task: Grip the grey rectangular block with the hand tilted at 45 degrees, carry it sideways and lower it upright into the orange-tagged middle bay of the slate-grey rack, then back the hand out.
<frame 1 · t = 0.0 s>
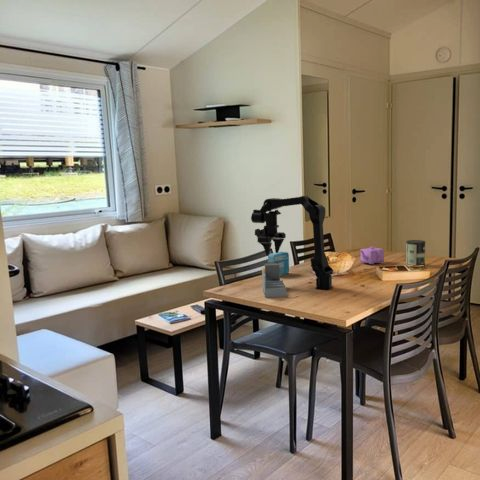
hand: (272, 254, 261), 15 cm above the table, tool pointing down, fingers open, 9 cm apart
coffee can: (415, 266, 292), on the table
data package: (278, 275, 282), on the table
purple box: (370, 264, 303), on the table
rack: (274, 292, 242), on the table
grey rectangular block: (272, 287, 254), on the table
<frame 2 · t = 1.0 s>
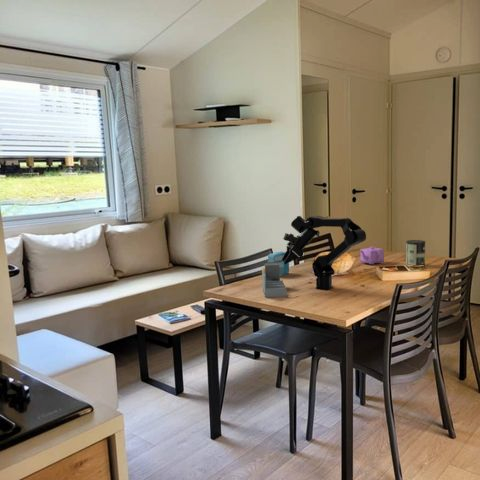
hand: (283, 261, 252), 12 cm above the table, tool tilted 45°, fingers open, 9 cm apart
nothing on the table moved.
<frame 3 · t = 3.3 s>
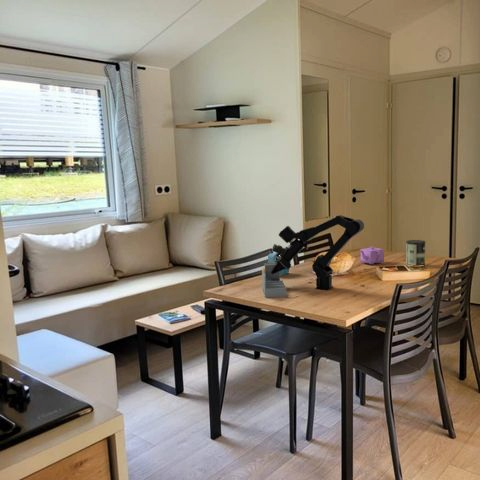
hand: (271, 272, 253), 7 cm above the table, tool tilted 45°, fingers closed on grey rectangular block, 3 cm apart
grey rectangular block: (272, 287, 254), on the table, touching gripper
everything else where it was.
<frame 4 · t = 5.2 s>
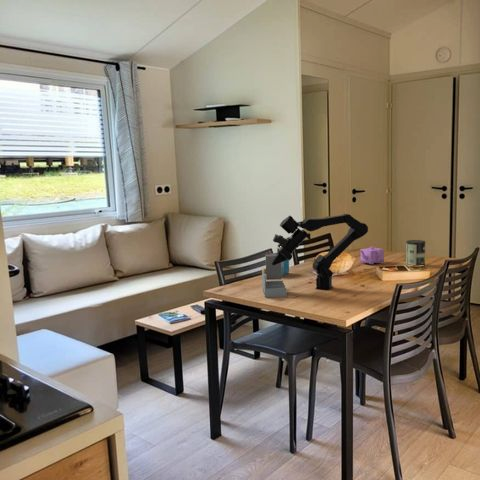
hand: (272, 264, 244), 13 cm above the table, tool tilted 45°, fingers closed on grey rectangular block, 3 cm apart
grey rectangular block: (273, 278, 245), point 6 cm above the table, touching gripper
everything else where it was.
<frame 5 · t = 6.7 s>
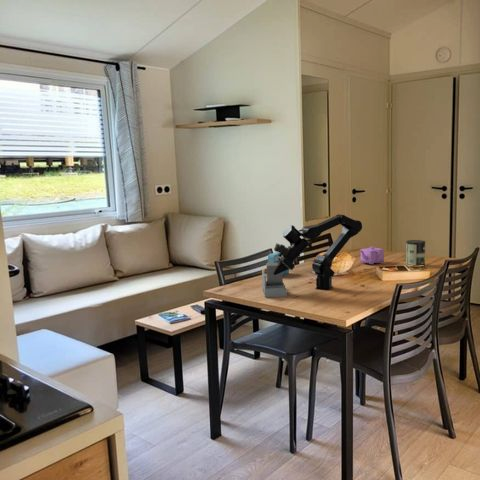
hand: (273, 273, 241), 9 cm above the table, tool tilted 45°, fingers closed on grey rectangular block, 3 cm apart
grey rectangular block: (275, 288, 242), point 2 cm above the table, touching gripper
everything else where it was.
when the fingers open (8 cm above the table, at t = 7.3 s): grey rectangular block stays where it is, resting on rack.
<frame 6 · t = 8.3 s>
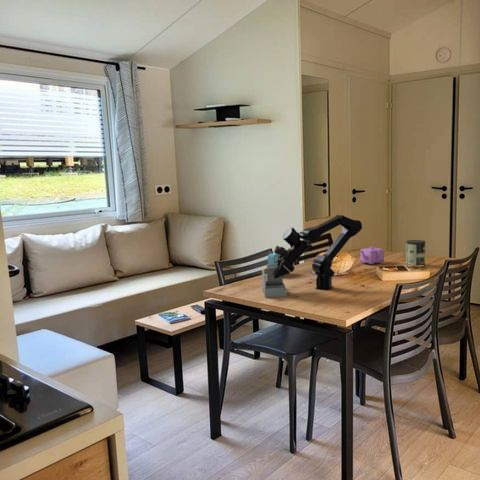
hand: (273, 275, 241), 8 cm above the table, tool tilted 45°, fingers open, 9 cm apart
grey rectangular block: (275, 290, 242), point 1 cm above the table, touching rack
everything else where it was.
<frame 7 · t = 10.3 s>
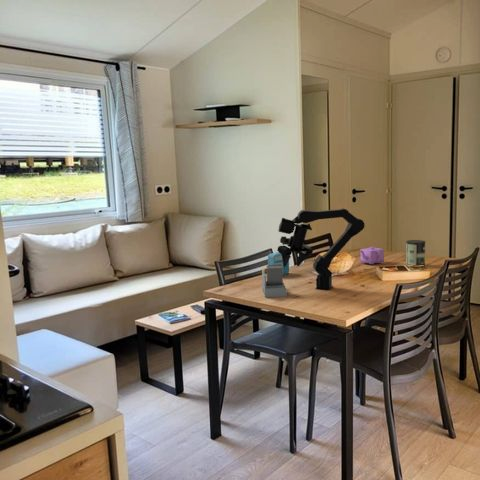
hand: (290, 266, 249), 11 cm above the table, tool tilted 20°, fingers open, 9 cm apart
nothing on the table moved.
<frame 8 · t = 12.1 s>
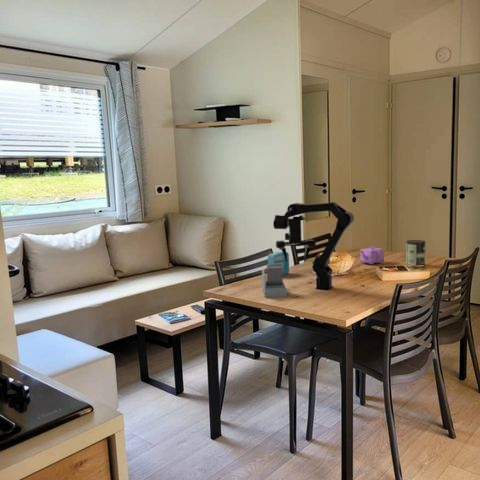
hand: (295, 261, 252), 12 cm above the table, tool pointing down, fingers open, 9 cm apart
nothing on the table moved.
at the end: grey rectangular block 0.1 cm off-centre on the rack, point 0.9 cm above the rack's base; grey rectangular block tilted 0°; the gripper is holding nothing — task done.
